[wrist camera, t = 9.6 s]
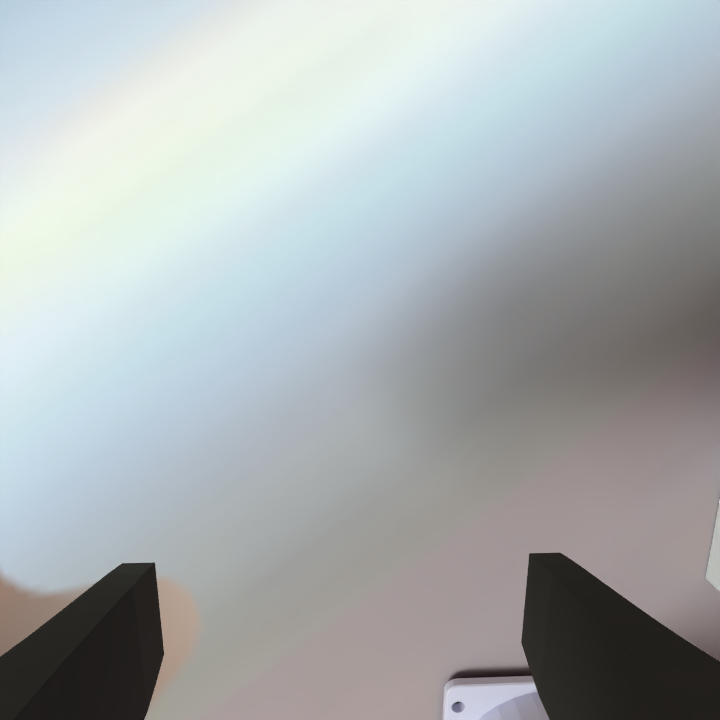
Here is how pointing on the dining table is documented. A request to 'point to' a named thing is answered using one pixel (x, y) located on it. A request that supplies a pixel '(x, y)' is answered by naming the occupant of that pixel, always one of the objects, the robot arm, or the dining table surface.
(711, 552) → the socket plate
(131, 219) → the dining table surface
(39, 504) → the dining table surface
